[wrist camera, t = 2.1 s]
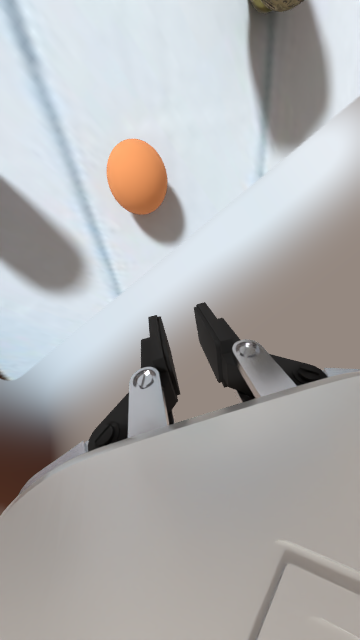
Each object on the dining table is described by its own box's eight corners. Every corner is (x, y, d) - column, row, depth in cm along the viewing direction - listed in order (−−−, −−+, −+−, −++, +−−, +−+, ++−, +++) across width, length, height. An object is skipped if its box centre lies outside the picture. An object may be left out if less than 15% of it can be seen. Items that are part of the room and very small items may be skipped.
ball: (156, 145, 18) (162, 119, 13) (168, 209, 21) (177, 207, 16) (102, 156, 17) (88, 134, 13) (122, 219, 20) (117, 220, 16)
